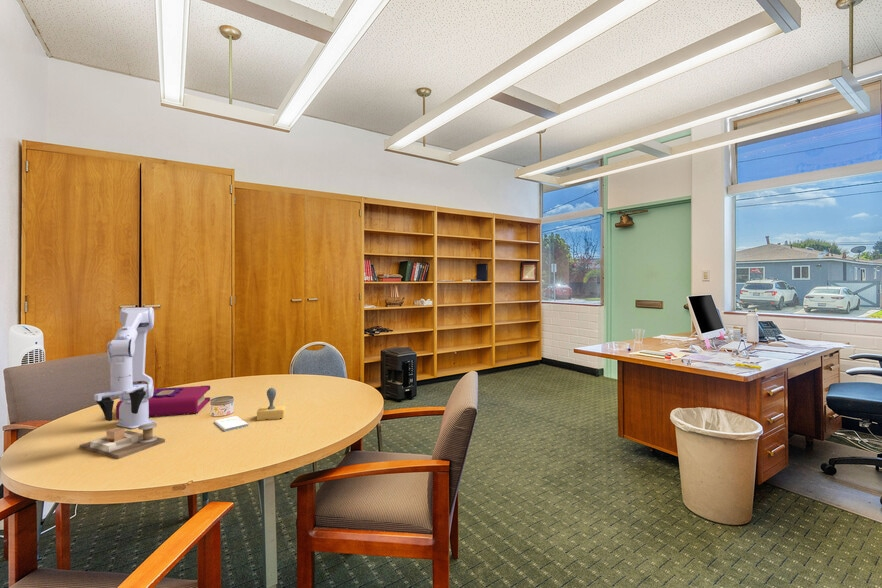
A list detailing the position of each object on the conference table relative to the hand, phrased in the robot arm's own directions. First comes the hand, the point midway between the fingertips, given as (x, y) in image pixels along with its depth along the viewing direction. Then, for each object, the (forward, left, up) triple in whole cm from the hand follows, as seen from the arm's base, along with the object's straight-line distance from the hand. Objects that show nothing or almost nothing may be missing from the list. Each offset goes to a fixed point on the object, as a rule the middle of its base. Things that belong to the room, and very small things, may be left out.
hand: (122, 416), depth 132 cm
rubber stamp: (+25, +40, -10) cm, 48 cm away
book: (-23, +31, -10) cm, 40 cm away
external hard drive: (+17, +28, -10) cm, 34 cm away
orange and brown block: (+1, -3, -8) cm, 9 cm away
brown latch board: (+1, 0, -9) cm, 9 cm away
